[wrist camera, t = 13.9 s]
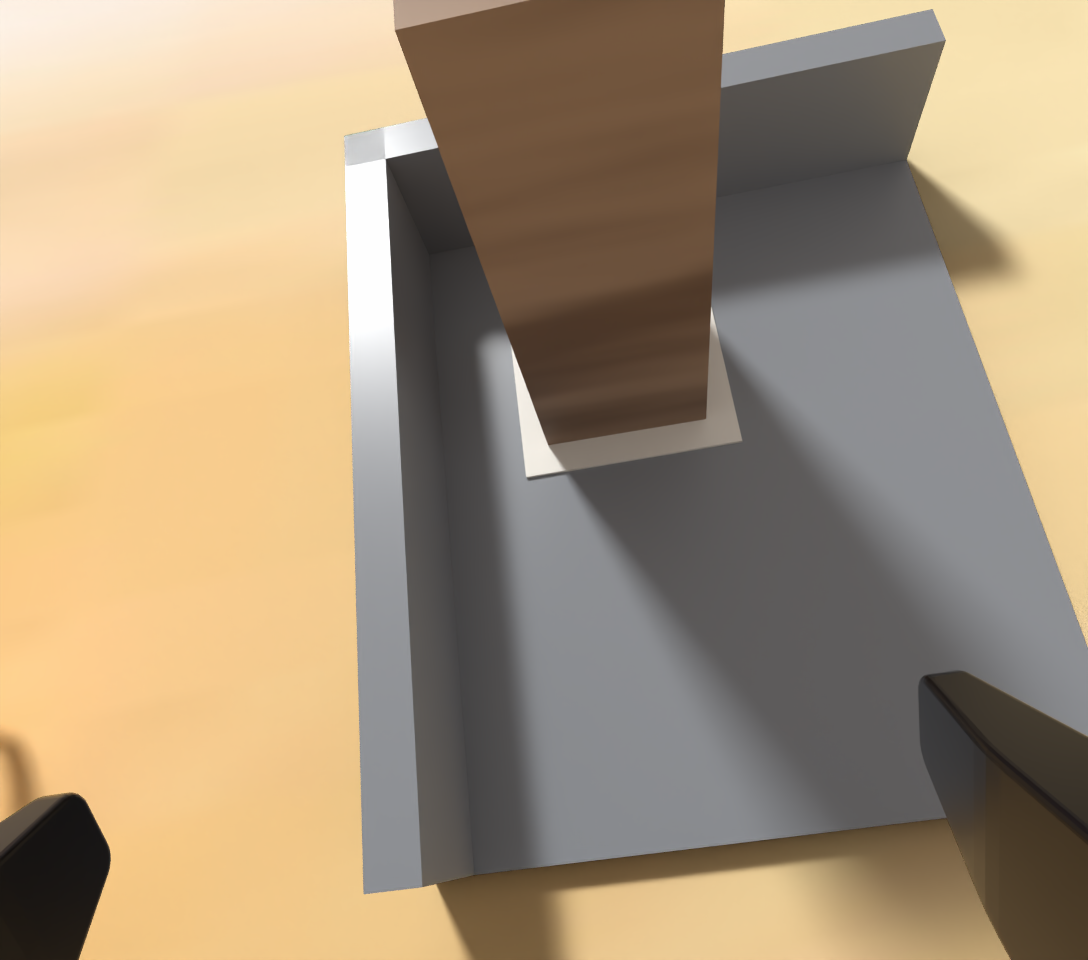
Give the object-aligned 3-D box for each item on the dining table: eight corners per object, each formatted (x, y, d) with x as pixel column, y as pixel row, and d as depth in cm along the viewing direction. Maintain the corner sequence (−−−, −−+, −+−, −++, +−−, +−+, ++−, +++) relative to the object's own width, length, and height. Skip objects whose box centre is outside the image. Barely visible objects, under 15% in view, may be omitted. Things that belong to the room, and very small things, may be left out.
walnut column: (706, 419, 24) (726, -44, 11) (548, 445, 24) (394, 30, 12) (679, 286, 26) (669, -242, 13) (531, 313, 26) (384, -171, 14)
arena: (1129, 795, 20) (1264, 786, 15) (433, 879, 21) (363, 894, 17) (891, 144, 27) (932, 8, 23) (398, 243, 29) (344, 135, 24)
